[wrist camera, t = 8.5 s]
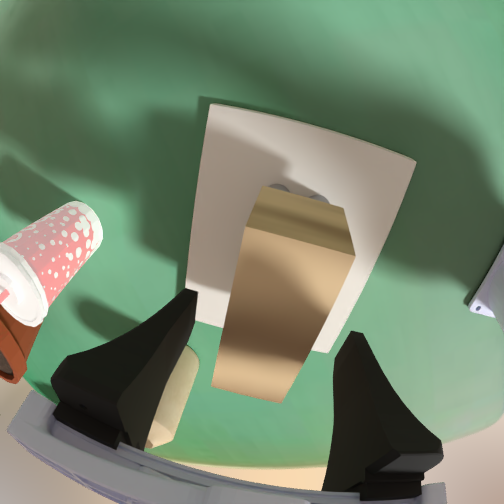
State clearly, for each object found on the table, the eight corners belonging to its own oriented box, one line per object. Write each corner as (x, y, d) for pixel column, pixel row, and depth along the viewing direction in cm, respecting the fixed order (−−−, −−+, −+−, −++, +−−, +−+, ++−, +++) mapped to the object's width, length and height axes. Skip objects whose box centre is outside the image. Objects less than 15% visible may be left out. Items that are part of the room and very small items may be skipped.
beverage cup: (104, 192, 21) (-40, 311, 9) (116, 263, 24) (13, 393, 12) (49, 191, 21) (-77, 285, 9) (64, 253, 24) (-36, 358, 13)
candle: (140, 333, 28) (94, 416, 19) (191, 337, 27) (152, 432, 18) (158, 369, 30) (123, 446, 22) (206, 375, 29) (177, 461, 21)
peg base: (411, 158, 16) (436, 177, 13) (327, 344, 24) (328, 382, 21) (215, 103, 16) (191, 108, 13) (186, 308, 25) (169, 342, 21)
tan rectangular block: (262, 185, 14) (245, 226, 11) (343, 207, 14) (355, 256, 10) (228, 331, 20) (211, 386, 16) (287, 346, 20) (281, 403, 16)
